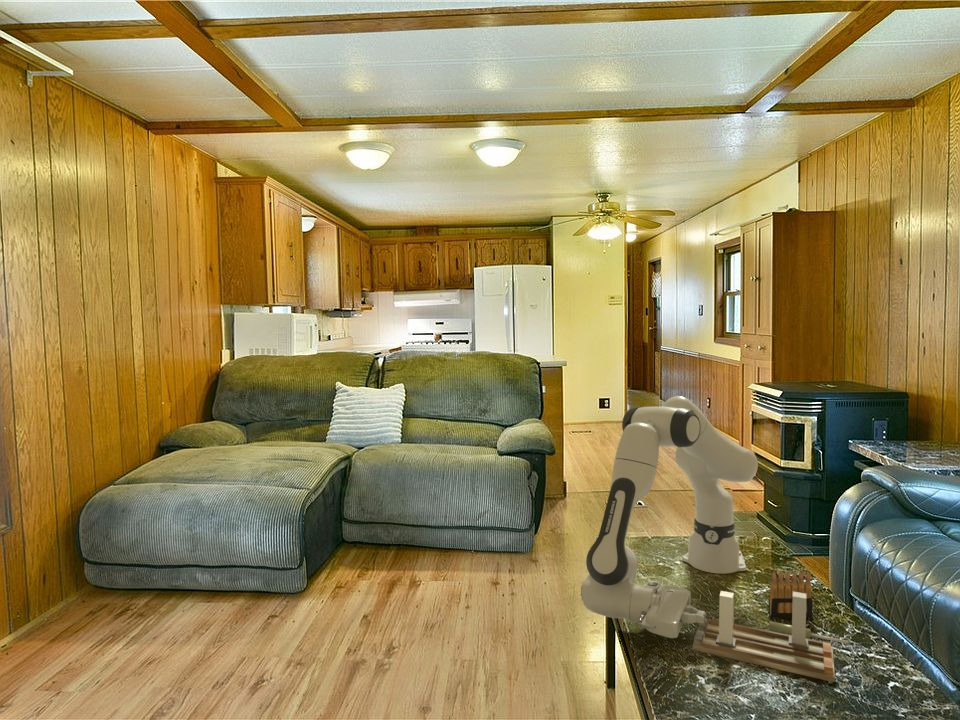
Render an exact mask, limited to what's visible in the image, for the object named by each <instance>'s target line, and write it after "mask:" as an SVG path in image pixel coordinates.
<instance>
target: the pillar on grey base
mask: <svg viewBox="0 0 960 720" xmlns="http://www.w3.org/2000/svg"><path fill="white" fill-rule="evenodd" d="M791 625H792V636H789V645H792V646H796V647H801V648H806V649H808V639H805V637H806V628H807V618H806V594H805V593H799V592H794V591H793V604H792V618H791Z"/></svg>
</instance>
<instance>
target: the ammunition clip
mask: <svg viewBox="0 0 960 720" xmlns="http://www.w3.org/2000/svg"><path fill="white" fill-rule="evenodd" d="M791 575H792V576H791V577H790V572H789V571H788V570H787V571H786V572H785V575H784V576H783V572H782V571H779V573H778V578H777V574H776V572H775V570H773V572H772V574H771V581H770V586H769V587H770V590H769V592H770V593H769V596H768V609H767V610H768V611H767V614H768V616H769V617H770V618H773V619H774V618H775V619H777V618H778V619H779V618H780V619H782V618H785V619H787V618H789V619H790V618H791V619H792V604H793V591H794V592H799V593H805V594H806V619H807V618H808V619H809V618H813V598H812V581H811V580H812V579H811V573H810V571H809V570H807V572H806V574H805V577H804V572H803V571H802V570H800V572H799V574H798V578H797V573H796V571H795V570H793V572H792V574H791ZM784 577H785V578H784ZM804 578H805V579H804ZM797 579H798V580H797ZM804 580H805V581H804Z"/></svg>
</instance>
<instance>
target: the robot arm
mask: <svg viewBox="0 0 960 720" xmlns="http://www.w3.org/2000/svg"><path fill="white" fill-rule="evenodd" d="M621 427H622V428H621V429H622V434H621V435H620V436H621V437H620V438H619V442H618V446H617V448H616V452H615V457H614V461H613V468H612V475H611V480H610V481H611V482H610V488H609V493H608V494H609V495H608V497H607V502H606V505H605V508H604V514H603V517H602V520H601V525H600V530H599V532H598V535H597V538H596V539H595V541H594V543H593V544H592V545H591V547H590V548H589V550H588V552H587V554H586V560H585V563H586V570H587V572H588V573H589V574H588V575H587V576H586V577H585V578H584V579H583V580H582V581H581V582H582V583H581V587H580V588H581V589H580V594H581V600H582V603H583V605H584V607H585V608H586V609H587V610H588V611H590V612H592V613H595V614H597V615H600V616H604V617H607V618H612V619H624V620H627V621H628V622H629V623H630V622H631V623H635V624H639V625H640V626H641V628H645V629H646V630H647V631H648V632H650V633H652V634H654V635H658V636H662V637H665V638H669V639H676V638H678V636H679V633H680V632H681V628H682V627H683V624H696V623H697V624H699V623H701V624H703V623H704V621H705V618H706V617H707V616H706V614H707V613H706V611H704V610H701V609H698V608H696V607H694V606H692V605H691V602H692V595H691V594H692V593H691V591H690V590H688V589H686V588H684V587H680V586H675V585H671V584H666V583H665V584H661V583H660V582H661V581H658V580H651V581H649V582H648V583H647V582H646V583H645V584H642V585H637V584H634V583H635V577H636V576H637V575H636V574H637V571H638V557H637V555H636V554H635V552H634V551H633V549H632V548H630V546H627V545H626V538H627V533H628V530H629V526H630V520H631V517H632V512H633V511H634V508H635V507H636V505H637V504H638V503H639V501H641V500H642V499H643V498H644V497H646V496H647V495H648V494H649V493H650V492H651V489H652V487H653V484H654V482H655V479H656V474H657V470H658V469H657V468H658V463H659V453H660V452H659V451H660V447H676V449H675V455H674V456H675V463H677V466H678V467H679V468H680V469H681V470H682V471H683V472H684V473H685V475H686V476H687V478H688V481H689V482H690V483H691V484H690V485H691V486H692V489H693V493H694V499H695V500H694V503H695V518H694V519H693V532H692V533H691V534H690V535H689V536H688V549H687V553H686V554H684V555H683V556H682V561H684V563H685V562H686V563H688V564H689V565H690V566H692V567H693V568H694V569H697V570H700V571H703V572H706V573H711V574H723V575H724V574H733V573H736V572H744V571H747V566H746V562H745V559H744V556H743V554H742V551H741V550H740V543H739V542H738V539H737V538H736V536H735V534H736V533H735V532H736V526H735V522H734V504H735V503H734V499H733V496H732V494H731V493H730V492H729V491H728V490H726V488H724V487H723V486H722V484H721V482H720V481H719V480H723V481H727V482H733V483H734V482H735V483H738V482H739V483H742V482H744V483H745V482H746V483H747V482H749V481H751V480H752V479H754V477H755V476H756V474H757V471H758V468H759V462H758V459H757V456H756V454H755V453H754V452H753V451H752V450H750V449H748V448H746V447H743V446H741V445H740V444H738V443H737V442H735V441H733V440H732V439H730V438H728V437H727V436H726V435H724V434H723V433H722V432H720V431H719V430H717V429H716V428H715V427H714V425H713V424H712V423H711V422H710V420H709V419H708V418H707V416H706V415H705V414H704V412H703V411H702V410H701V409H700V408H699V407H698V406H697V405H696V404H695V403H694V402H693V401H692V400H690V399H689V398H687V397H685V396H681V395H675V396H672V397H669V398H668V399H667V400H665V401H664V403H663V404H662V406H661V405H659V406H644V405H643V406H641V405H640V406H634V407H631V408H629V409H628V410H627V411H626V412H625V414H624V415H623V418H622V422H621Z"/></svg>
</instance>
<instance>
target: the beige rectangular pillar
mask: <svg viewBox="0 0 960 720" xmlns="http://www.w3.org/2000/svg"><path fill="white" fill-rule="evenodd" d="M734 597H735V593H734V592H730V591H723V590H720V593H719V609H718V614H719V615H718V616H719V617H718V621H719V635H718V636H717V640H716V644H718V645H723V646H727V647H732V648H735V645H736V638H733V624H734V613H735V611H734V607H735V605H734V604H735V603H734V601H735V600H734Z"/></svg>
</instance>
